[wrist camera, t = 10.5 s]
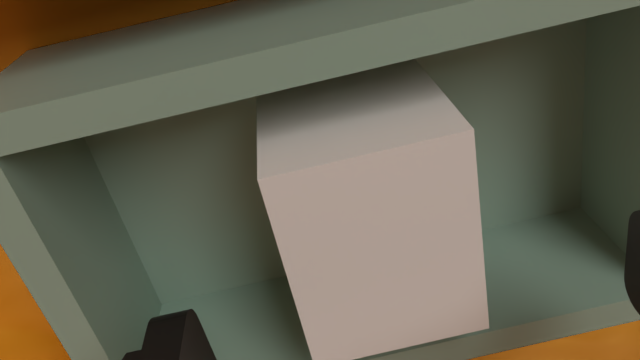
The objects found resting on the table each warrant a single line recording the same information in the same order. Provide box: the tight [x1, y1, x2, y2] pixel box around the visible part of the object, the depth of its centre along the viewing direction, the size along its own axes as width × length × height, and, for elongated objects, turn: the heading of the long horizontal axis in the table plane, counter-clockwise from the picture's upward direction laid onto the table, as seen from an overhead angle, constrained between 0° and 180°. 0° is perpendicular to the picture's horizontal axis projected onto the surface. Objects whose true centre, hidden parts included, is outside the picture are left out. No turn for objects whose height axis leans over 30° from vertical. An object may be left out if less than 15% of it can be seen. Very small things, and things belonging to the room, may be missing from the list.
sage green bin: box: [0, 0, 640, 360], centre depth 14 cm, size 15×9×5 cm, turn 102°
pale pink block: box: [256, 59, 489, 360], centre depth 14 cm, size 4×5×5 cm
